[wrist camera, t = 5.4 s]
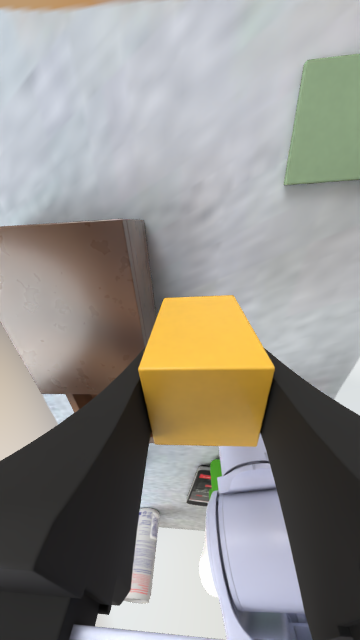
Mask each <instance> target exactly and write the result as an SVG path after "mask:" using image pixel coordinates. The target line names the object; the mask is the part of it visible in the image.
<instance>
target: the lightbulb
mask: <svg viewBox="0 0 360 640" xmlns="http://www.w3.org/2000/svg"><path fill="white" fill-rule="evenodd" d="M199 573H200V578H201V581H202V584H203V586H204V588H205V590H206V591H207V592H208V593H209V594H210V595H211V596H213V597H218V594H217V592H216V589H215V586H214V582H213V578H212V574H211V569H210V563H209V556H208V548H207V537H206V530H205V542H204V548H203V551H202V554H201V557H200V562H199Z"/></svg>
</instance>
